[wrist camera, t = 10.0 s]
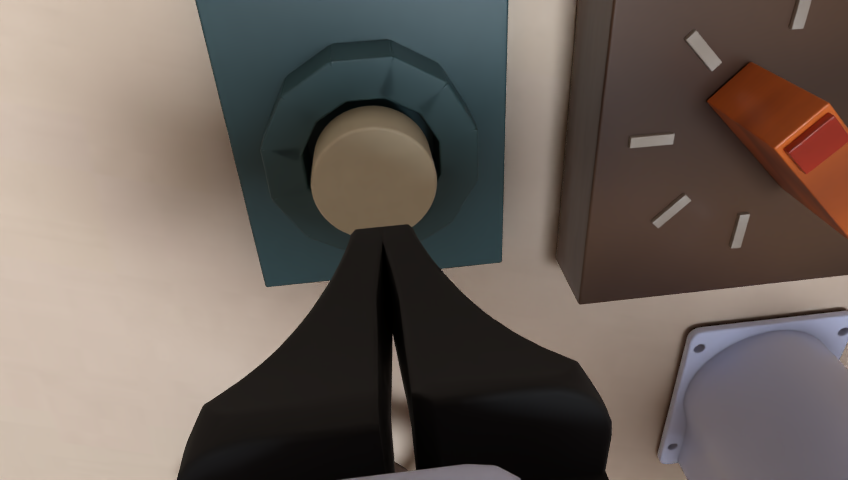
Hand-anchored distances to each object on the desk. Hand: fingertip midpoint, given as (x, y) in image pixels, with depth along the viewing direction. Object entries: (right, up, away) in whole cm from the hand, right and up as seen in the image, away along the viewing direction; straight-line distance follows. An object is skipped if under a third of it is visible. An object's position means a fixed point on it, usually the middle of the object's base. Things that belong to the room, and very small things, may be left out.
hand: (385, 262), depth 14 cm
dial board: (+11, +6, +8) cm, 15 cm away
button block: (-1, +4, +7) cm, 8 cm away
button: (-1, +3, +5) cm, 6 cm away
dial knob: (+12, +4, +5) cm, 13 cm away
